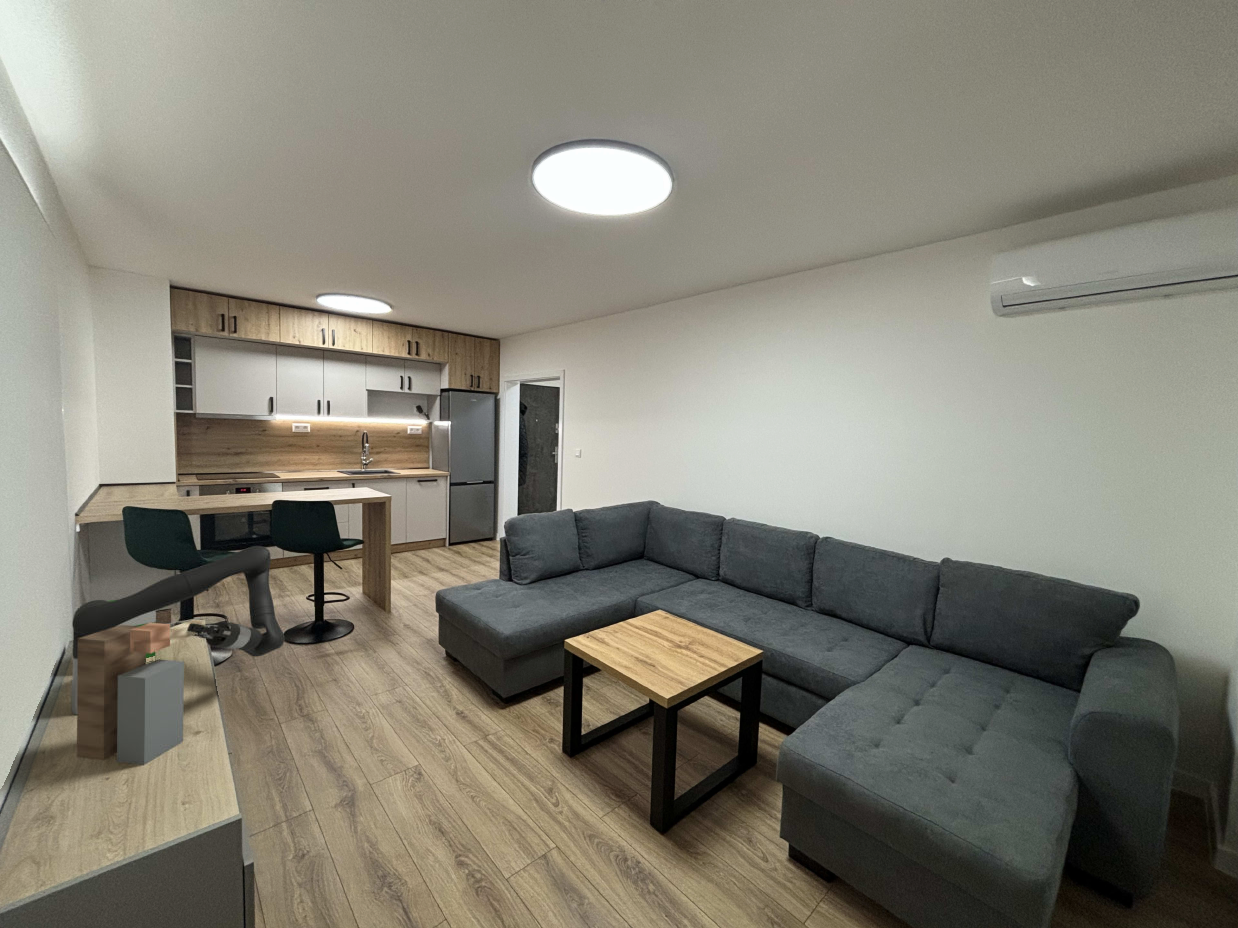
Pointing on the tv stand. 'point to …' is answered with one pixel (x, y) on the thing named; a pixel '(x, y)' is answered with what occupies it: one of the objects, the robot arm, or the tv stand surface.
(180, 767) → the tv stand surface
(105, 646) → the tall stand
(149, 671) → the tall grey block
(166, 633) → the two-tone block
